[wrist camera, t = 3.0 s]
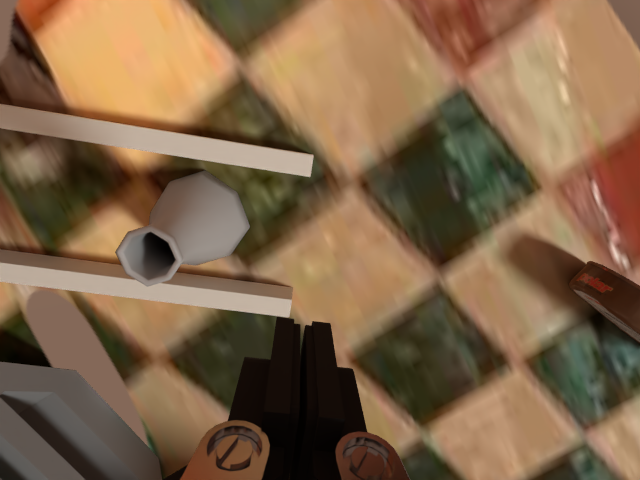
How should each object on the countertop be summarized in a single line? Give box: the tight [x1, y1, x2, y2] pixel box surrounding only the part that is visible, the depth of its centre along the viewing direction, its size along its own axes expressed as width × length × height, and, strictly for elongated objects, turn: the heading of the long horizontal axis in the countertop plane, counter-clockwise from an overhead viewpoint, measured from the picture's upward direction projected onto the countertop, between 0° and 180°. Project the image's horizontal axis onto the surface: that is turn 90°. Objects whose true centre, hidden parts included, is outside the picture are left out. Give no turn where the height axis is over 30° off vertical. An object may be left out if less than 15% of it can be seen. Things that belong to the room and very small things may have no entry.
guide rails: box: [0, 104, 314, 317], centre depth 27 cm, size 24×12×2 cm, turn 81°
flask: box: [116, 170, 250, 287], centre depth 23 cm, size 7×7×10 cm
